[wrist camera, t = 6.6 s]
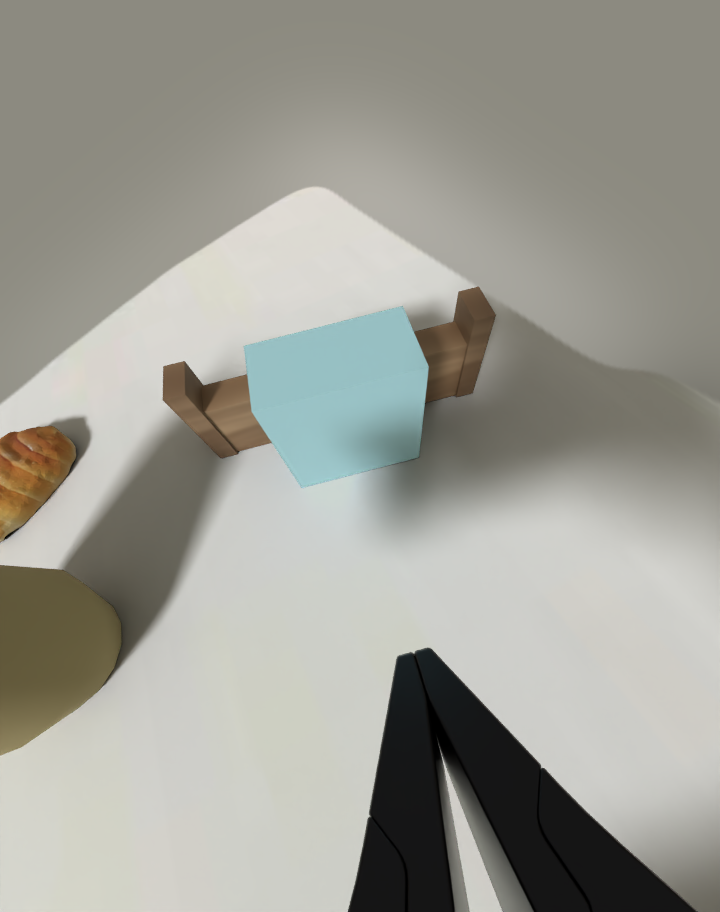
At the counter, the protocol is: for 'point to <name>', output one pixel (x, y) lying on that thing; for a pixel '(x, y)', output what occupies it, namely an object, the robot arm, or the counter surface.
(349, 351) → the pale blue brick
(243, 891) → the counter surface
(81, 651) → the squeeze bottle
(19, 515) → the pastry
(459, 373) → the rail
